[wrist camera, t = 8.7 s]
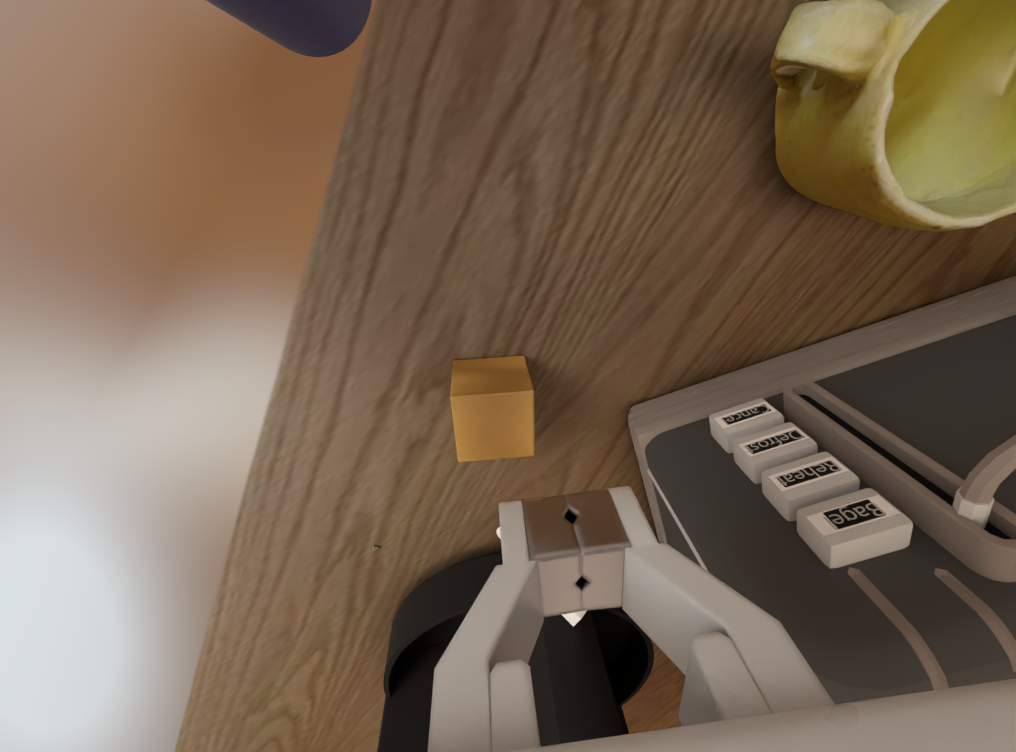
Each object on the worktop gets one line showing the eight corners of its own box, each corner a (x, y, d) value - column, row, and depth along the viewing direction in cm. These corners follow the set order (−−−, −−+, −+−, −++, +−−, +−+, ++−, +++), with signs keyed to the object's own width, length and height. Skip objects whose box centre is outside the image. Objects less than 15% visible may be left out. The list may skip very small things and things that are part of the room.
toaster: (1124, 167, 23) (2448, 188, 8) (987, 557, 40) (1313, 808, 24) (604, 352, 25) (807, 643, 10) (682, 644, 42) (803, 919, 27)
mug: (1084, 7, 18) (1415, -9, 10) (857, 220, 24) (957, 304, 17) (853, -154, 16) (1039, -307, 9) (682, 117, 23) (706, 159, 16)
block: (459, 419, 27) (457, 463, 23) (452, 359, 25) (449, 396, 21) (525, 414, 27) (534, 456, 24) (524, 354, 25) (534, 390, 21)
